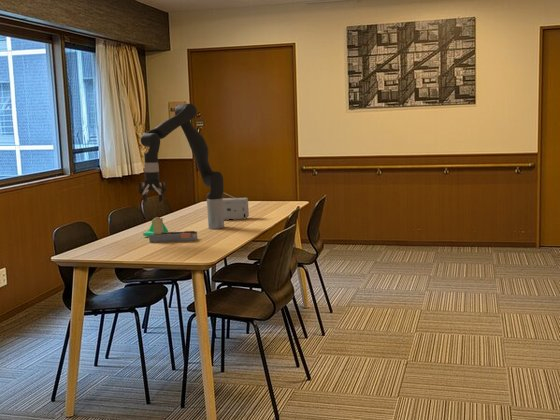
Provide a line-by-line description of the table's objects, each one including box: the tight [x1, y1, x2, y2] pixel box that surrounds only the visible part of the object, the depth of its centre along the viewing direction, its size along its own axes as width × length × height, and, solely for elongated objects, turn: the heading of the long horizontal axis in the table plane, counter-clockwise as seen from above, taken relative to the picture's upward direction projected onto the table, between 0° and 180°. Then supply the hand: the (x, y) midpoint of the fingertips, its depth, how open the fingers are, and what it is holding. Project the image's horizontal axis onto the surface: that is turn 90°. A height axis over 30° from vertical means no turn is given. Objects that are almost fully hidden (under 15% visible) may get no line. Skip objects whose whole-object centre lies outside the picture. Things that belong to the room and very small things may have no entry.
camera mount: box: [142, 217, 169, 239], centre depth 375 cm, size 12×8×10 cm, turn 69°
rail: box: [148, 230, 198, 243], centre depth 359 cm, size 8×24×4 cm, turn 81°
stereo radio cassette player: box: [223, 192, 250, 221], centre depth 424 cm, size 21×8×20 cm, turn 84°
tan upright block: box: [152, 216, 164, 234], centre depth 360 cm, size 4×4×11 cm
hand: (152, 201), depth 357 cm, fingers open, 8 cm apart
